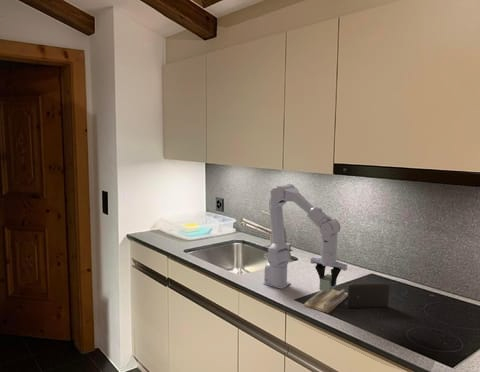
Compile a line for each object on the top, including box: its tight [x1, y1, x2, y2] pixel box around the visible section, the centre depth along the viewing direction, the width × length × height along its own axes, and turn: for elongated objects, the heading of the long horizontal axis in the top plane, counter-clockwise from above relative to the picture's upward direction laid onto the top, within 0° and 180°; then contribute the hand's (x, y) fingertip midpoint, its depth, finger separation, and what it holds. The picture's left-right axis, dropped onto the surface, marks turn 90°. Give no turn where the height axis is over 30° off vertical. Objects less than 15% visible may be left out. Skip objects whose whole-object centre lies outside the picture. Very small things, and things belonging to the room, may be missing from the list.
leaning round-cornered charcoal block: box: [347, 280, 391, 309], centre depth 154 cm, size 16×5×9 cm, turn 96°
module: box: [319, 273, 337, 292], centre depth 158 cm, size 4×7×4 cm, turn 144°
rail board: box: [303, 288, 348, 314], centre depth 159 cm, size 10×20×2 cm, turn 144°
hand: (327, 284), depth 158 cm, fingers closed on module, 4 cm apart
